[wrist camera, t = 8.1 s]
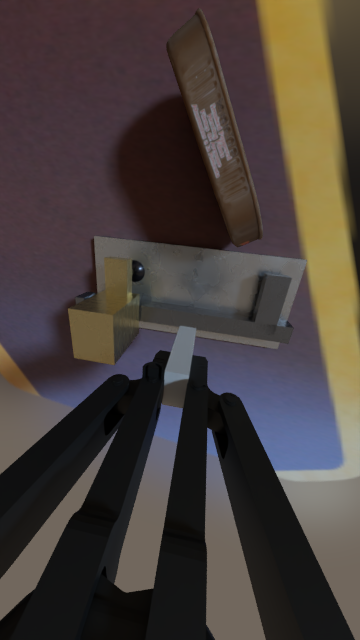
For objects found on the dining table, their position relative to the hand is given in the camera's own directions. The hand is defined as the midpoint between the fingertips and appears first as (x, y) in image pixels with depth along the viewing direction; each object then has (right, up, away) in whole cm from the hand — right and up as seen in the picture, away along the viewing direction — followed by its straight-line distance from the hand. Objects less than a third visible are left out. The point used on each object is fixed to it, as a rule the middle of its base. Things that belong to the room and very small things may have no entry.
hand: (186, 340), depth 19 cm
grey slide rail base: (+1, +5, +6) cm, 8 cm away
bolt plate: (+1, +5, +7) cm, 9 cm away
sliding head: (-7, +5, +7) cm, 11 cm away
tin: (+3, +17, +2) cm, 18 cm away
